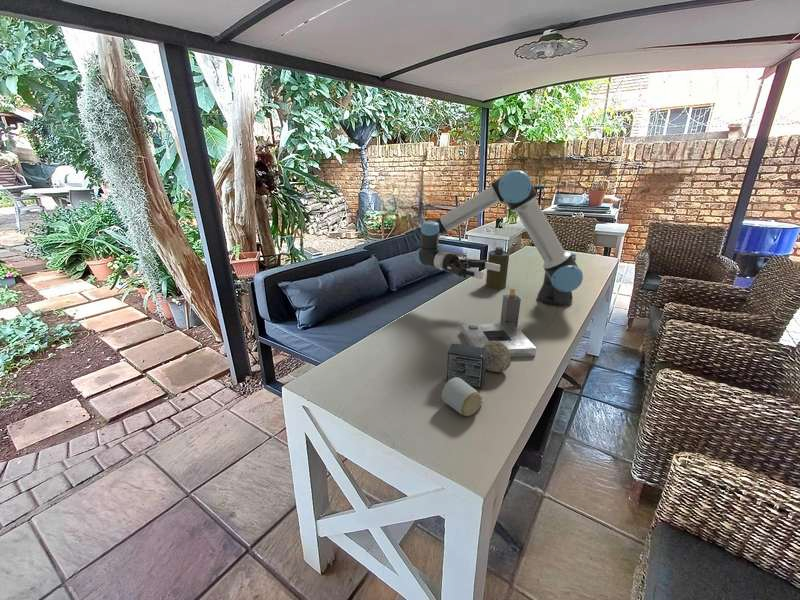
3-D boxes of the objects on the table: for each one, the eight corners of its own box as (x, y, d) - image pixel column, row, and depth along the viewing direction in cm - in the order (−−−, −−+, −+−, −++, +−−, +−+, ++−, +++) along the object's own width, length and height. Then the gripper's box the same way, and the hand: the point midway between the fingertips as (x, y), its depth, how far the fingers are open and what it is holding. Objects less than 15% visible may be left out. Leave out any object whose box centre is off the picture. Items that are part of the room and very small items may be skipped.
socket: (512, 329, 141) (513, 321, 140) (535, 355, 123) (536, 346, 121) (461, 331, 140) (462, 323, 138) (476, 358, 121) (477, 349, 120)
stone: (483, 360, 120) (485, 333, 116) (511, 371, 114) (515, 342, 111) (473, 368, 115) (476, 340, 112) (502, 379, 110) (506, 350, 106)
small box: (484, 378, 111) (487, 347, 107) (482, 390, 105) (485, 358, 101) (450, 371, 114) (451, 341, 110) (445, 383, 108) (447, 351, 104)
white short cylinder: (462, 422, 92) (464, 397, 89) (440, 406, 98) (441, 381, 95) (490, 407, 98) (493, 382, 95) (467, 392, 104) (470, 369, 101)
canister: (508, 289, 184) (512, 250, 177) (487, 289, 185) (491, 250, 177) (503, 282, 195) (507, 245, 187) (483, 282, 195) (486, 245, 188)
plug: (512, 322, 148) (516, 287, 142) (517, 327, 143) (521, 291, 138) (500, 323, 147) (504, 287, 142) (504, 328, 143) (508, 292, 137)
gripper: (462, 264, 167) (505, 274, 154) (428, 276, 150) (473, 288, 137) (463, 248, 164) (507, 256, 151) (429, 258, 147) (475, 269, 134)
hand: (491, 271), depth 144 cm, fingers open, 13 cm apart
